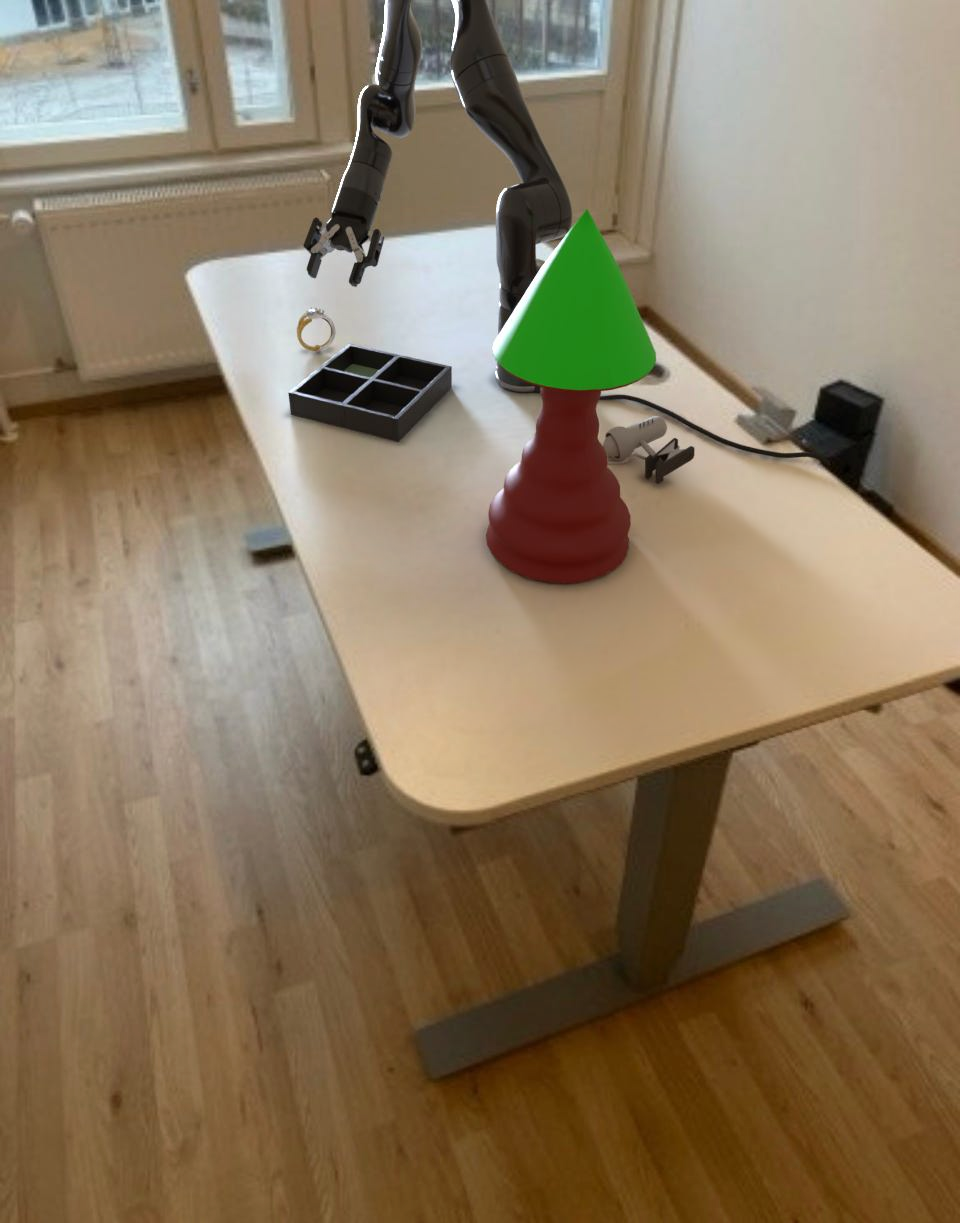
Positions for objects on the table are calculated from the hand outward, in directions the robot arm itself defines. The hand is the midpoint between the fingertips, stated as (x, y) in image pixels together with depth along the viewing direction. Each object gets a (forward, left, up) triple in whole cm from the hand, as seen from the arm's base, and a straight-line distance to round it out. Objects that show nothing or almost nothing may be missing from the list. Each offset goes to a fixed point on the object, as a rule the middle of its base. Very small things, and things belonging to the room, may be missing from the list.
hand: (331, 280), depth 175 cm
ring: (0, +7, -11) cm, 13 cm away
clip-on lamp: (-63, +21, -11) cm, 67 cm away
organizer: (-18, +19, -11) cm, 28 cm away
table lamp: (-60, +43, -11) cm, 74 cm away
